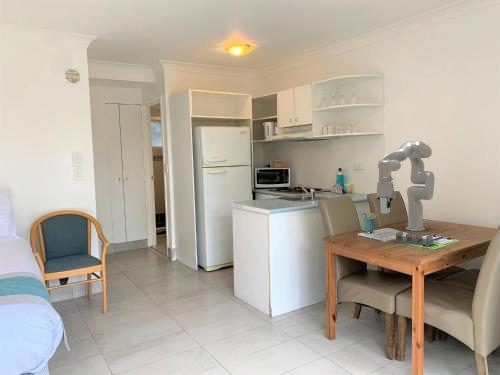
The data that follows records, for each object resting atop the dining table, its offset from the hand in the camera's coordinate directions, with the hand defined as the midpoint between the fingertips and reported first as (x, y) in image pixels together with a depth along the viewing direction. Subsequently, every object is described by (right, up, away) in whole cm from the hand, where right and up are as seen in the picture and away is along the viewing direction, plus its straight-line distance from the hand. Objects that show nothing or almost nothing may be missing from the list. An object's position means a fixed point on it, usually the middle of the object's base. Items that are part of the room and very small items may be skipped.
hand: (385, 207), depth 252 cm
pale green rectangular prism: (0, -3, 0) cm, 3 cm away
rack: (+15, -21, -9) cm, 28 cm away
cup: (-4, -19, +24) cm, 31 cm away
